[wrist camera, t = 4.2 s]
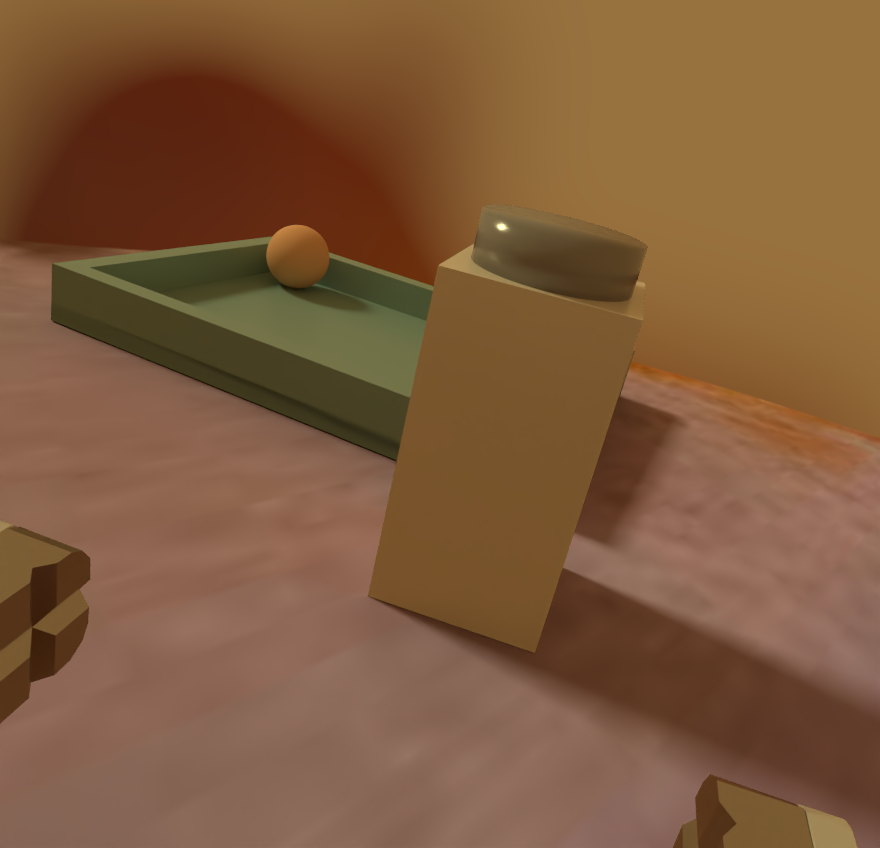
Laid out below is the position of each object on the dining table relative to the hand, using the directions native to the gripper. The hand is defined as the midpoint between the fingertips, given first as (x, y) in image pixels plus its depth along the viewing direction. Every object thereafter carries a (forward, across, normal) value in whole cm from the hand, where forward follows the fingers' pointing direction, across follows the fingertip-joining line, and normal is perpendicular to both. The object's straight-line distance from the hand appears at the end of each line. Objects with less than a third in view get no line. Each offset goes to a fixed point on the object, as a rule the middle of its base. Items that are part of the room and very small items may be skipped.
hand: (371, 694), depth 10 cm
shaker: (+12, 0, +6) cm, 13 cm away
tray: (+26, +9, +6) cm, 28 cm away
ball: (+33, +15, +5) cm, 36 cm away
